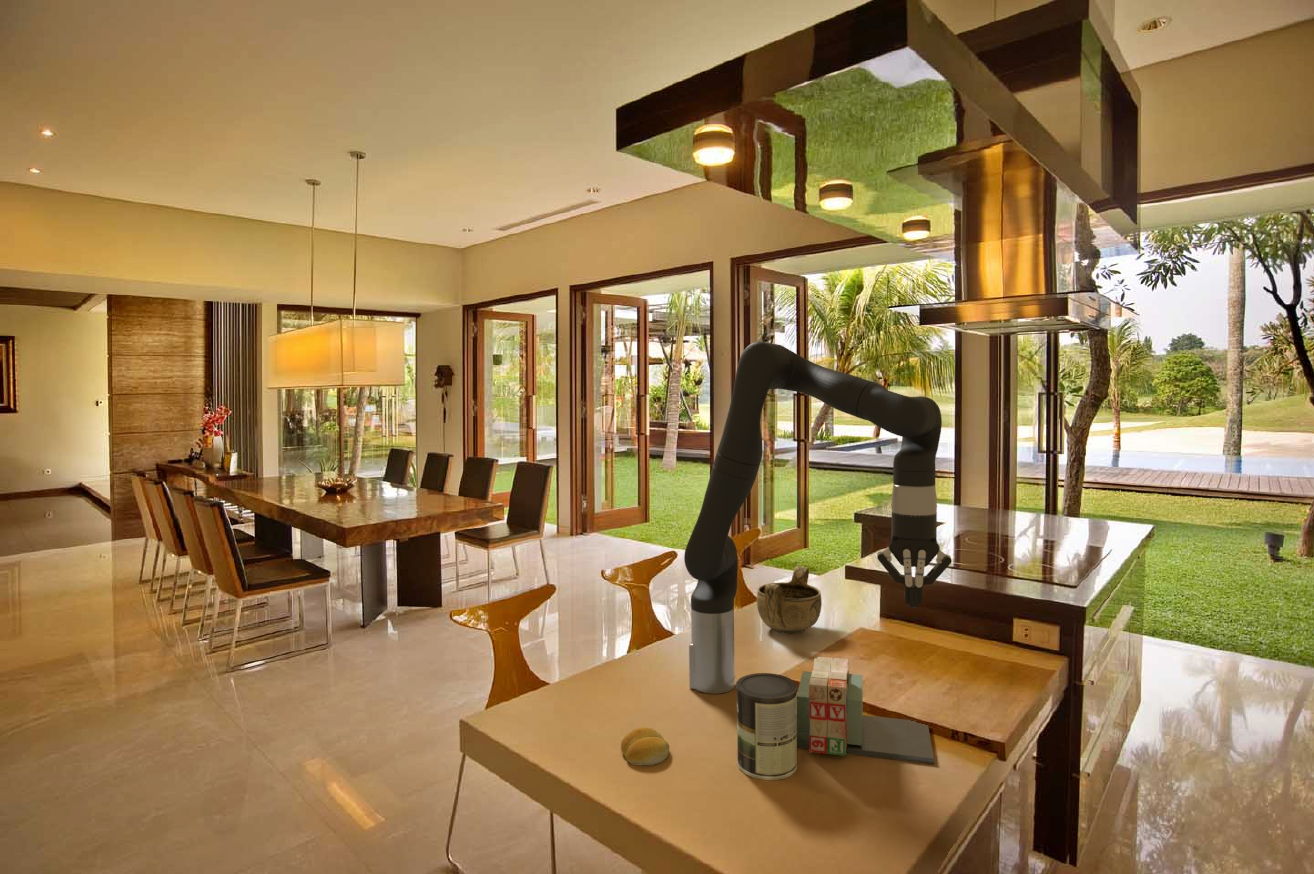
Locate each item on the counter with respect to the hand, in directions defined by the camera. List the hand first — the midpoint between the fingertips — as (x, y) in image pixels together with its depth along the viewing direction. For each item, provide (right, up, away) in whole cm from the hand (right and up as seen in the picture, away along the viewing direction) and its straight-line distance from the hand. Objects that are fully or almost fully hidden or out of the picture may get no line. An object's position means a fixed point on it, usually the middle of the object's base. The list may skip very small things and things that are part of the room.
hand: (913, 606), depth 129 cm
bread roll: (-48, -26, 0) cm, 55 cm away
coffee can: (-27, -26, -5) cm, 38 cm away
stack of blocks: (-13, -24, +6) cm, 28 cm away
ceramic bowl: (-11, -21, +63) cm, 67 cm away
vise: (-8, -25, +4) cm, 27 cm away
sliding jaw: (-9, -24, +4) cm, 26 cm away
